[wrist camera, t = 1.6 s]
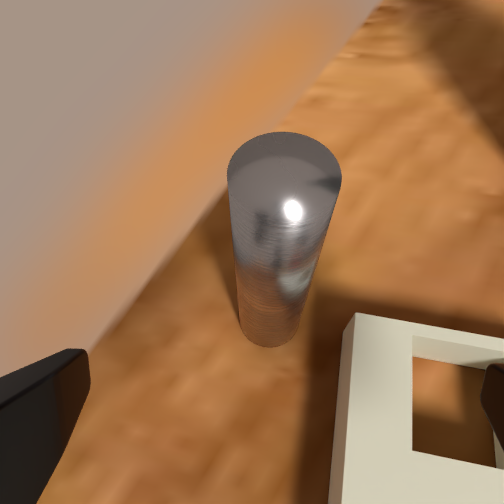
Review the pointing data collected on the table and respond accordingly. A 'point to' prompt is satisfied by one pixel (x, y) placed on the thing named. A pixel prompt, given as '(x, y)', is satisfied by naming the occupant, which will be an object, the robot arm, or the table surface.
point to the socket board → (401, 418)
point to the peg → (278, 228)
